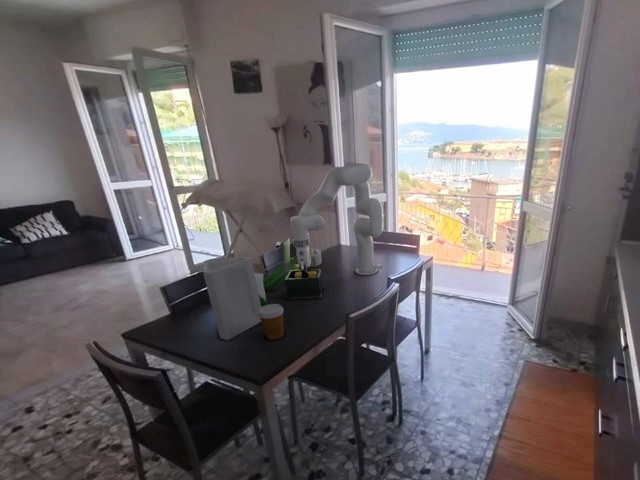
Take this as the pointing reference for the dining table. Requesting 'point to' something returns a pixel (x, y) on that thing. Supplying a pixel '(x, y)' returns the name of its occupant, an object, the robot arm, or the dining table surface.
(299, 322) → the dining table surface
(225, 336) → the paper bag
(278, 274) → the daffodil flowers
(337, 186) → the robot arm
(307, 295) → the waste bin
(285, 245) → the bin lid
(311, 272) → the yellow rectangular block
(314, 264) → the lumpy-topped squat cylinder
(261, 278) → the milk carton
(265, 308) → the disposable coffee cup
